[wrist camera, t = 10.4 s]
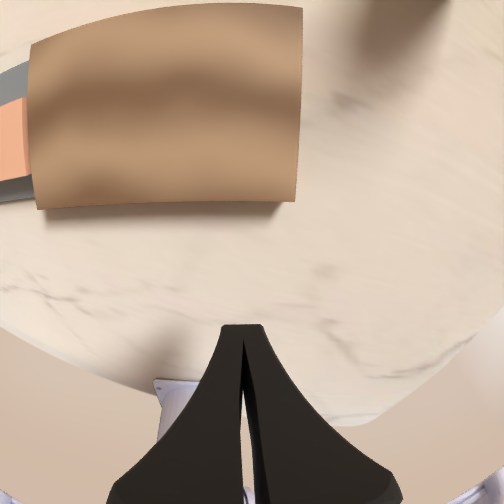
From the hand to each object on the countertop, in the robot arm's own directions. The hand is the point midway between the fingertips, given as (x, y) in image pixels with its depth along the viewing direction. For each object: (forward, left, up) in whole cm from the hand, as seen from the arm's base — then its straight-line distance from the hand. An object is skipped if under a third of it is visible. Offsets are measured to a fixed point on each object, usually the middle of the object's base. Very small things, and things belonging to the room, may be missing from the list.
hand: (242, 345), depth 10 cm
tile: (+8, +17, -9) cm, 21 cm away
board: (+9, +5, -9) cm, 14 cm away
